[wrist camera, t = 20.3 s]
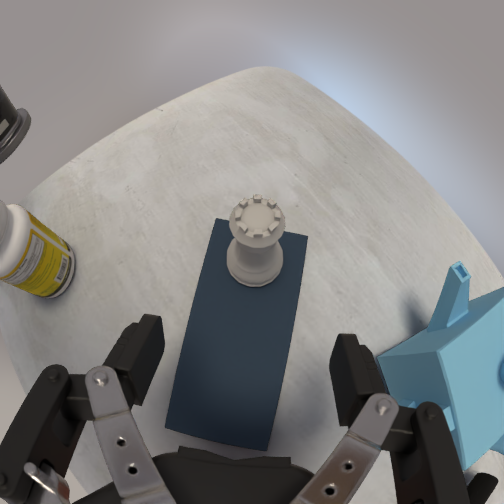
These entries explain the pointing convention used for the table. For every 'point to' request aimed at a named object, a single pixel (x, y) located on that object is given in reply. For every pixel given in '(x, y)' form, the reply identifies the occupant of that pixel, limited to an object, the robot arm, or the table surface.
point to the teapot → (456, 366)
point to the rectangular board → (236, 348)
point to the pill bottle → (32, 254)
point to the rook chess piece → (256, 241)
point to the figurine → (481, 488)
